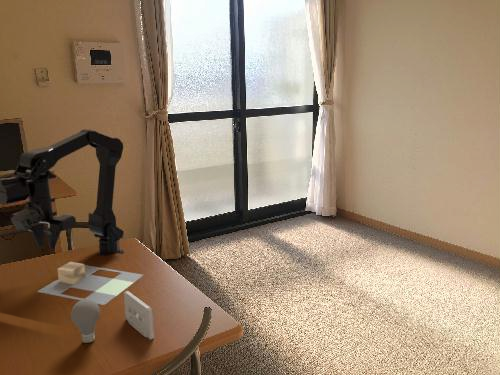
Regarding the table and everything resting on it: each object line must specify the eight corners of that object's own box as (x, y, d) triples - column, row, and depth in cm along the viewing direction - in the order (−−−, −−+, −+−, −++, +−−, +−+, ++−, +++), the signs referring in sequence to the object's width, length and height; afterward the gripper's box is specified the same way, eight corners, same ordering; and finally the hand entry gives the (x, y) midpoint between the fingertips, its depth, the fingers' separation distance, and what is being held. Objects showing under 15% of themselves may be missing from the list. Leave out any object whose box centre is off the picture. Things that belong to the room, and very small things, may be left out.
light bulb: (107, 333, 97) (103, 294, 94) (95, 350, 91) (90, 308, 89) (82, 332, 98) (77, 293, 95) (69, 348, 92) (63, 307, 89)
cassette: (156, 338, 96) (154, 307, 94) (149, 341, 94) (146, 310, 92) (131, 317, 104) (128, 289, 102) (124, 320, 103) (121, 291, 101)
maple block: (71, 274, 124) (70, 261, 123) (85, 276, 122) (84, 264, 121) (59, 281, 119) (57, 268, 118) (73, 284, 117) (71, 271, 116)
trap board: (83, 269, 130) (82, 264, 130) (144, 279, 123) (143, 274, 123) (37, 296, 114) (36, 291, 114) (104, 310, 107) (104, 305, 107)
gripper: (-12, 201, 113) (-3, 254, 117) (43, 207, 107) (50, 263, 111) (23, 190, 123) (30, 240, 127) (74, 196, 117) (80, 248, 121)
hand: (46, 248), depth 121 cm, fingers open, 4 cm apart
